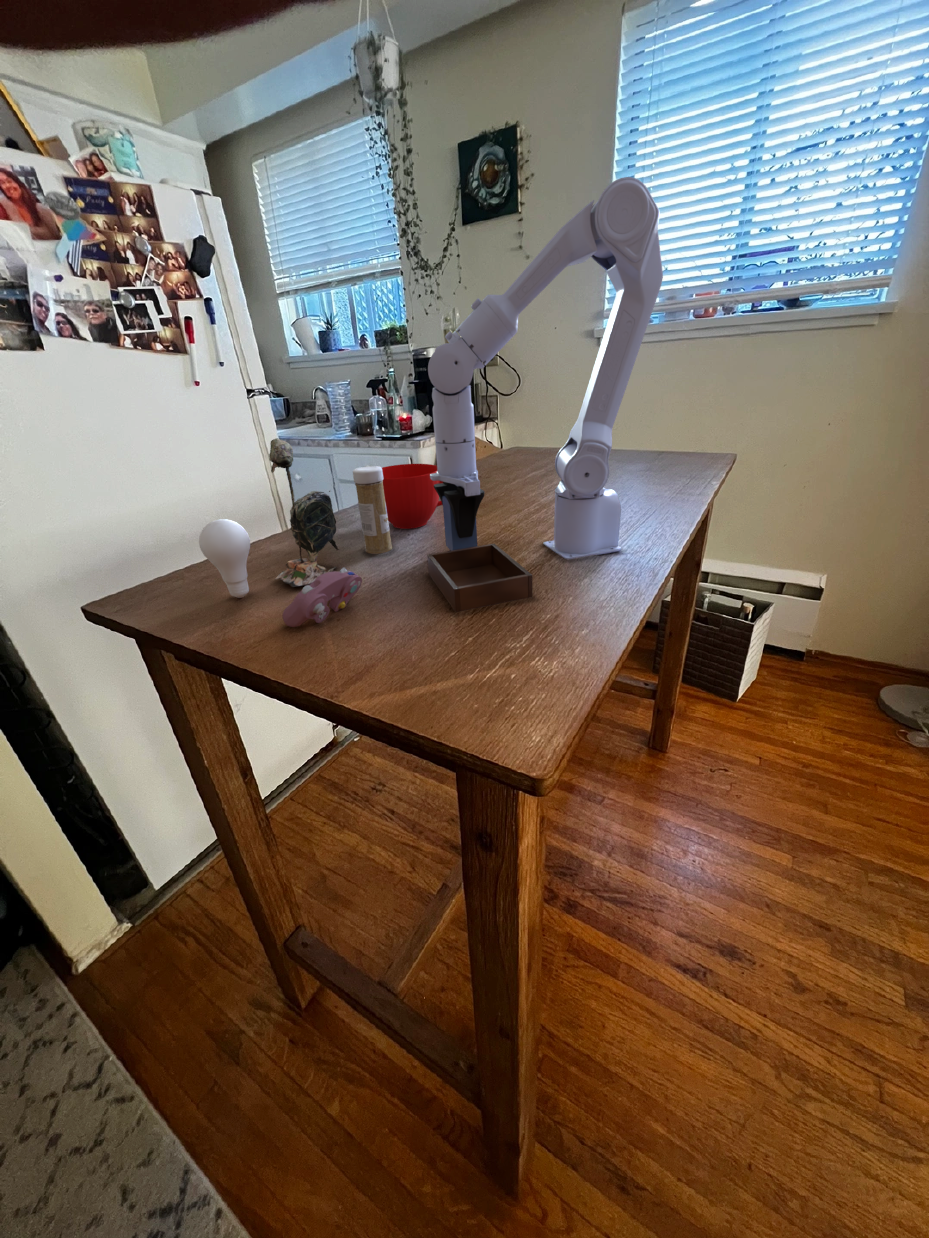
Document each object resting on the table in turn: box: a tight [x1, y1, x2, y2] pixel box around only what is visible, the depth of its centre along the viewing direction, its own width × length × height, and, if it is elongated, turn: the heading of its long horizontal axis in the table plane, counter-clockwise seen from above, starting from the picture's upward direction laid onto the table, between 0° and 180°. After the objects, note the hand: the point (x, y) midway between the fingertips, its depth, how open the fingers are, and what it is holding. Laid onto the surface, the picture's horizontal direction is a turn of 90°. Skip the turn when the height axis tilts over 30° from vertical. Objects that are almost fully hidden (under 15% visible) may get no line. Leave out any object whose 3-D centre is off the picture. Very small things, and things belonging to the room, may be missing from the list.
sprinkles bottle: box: [352, 465, 393, 555], centre depth 80 cm, size 5×5×14 cm
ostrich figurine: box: [268, 438, 340, 588], centre depth 71 cm, size 8×11×20 cm
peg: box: [442, 496, 478, 551], centre depth 77 cm, size 4×4×8 cm
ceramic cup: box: [381, 463, 443, 530], centre depth 94 cm, size 13×17×10 cm
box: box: [426, 543, 533, 613], centre depth 67 cm, size 10×13×3 cm
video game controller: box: [282, 567, 363, 628], centre depth 62 cm, size 10×5×7 cm, turn 148°
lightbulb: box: [198, 518, 251, 599], centre depth 67 cm, size 6×6×11 cm
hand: (460, 532), depth 78 cm, fingers closed on peg, 4 cm apart
